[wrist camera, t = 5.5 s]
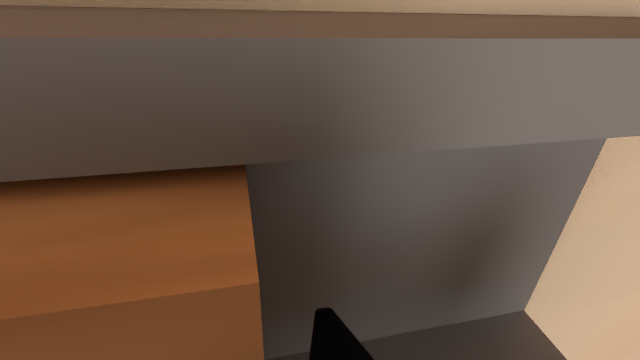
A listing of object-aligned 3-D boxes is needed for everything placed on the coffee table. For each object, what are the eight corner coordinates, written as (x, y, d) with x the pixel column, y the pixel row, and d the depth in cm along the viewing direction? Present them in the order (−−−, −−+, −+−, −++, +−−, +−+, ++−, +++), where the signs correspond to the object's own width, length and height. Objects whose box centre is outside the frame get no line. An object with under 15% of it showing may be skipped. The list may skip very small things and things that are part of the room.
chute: (501, 328, 18) (559, 402, 15) (36, 421, 13) (-18, 553, 10) (642, 17, 11) (809, 38, 8) (-255, 1, 6) (-691, 36, 3)
